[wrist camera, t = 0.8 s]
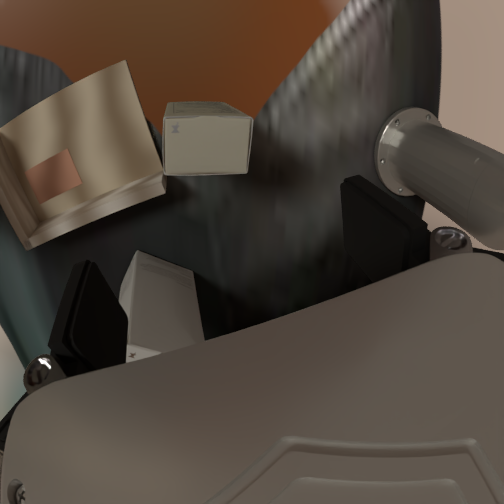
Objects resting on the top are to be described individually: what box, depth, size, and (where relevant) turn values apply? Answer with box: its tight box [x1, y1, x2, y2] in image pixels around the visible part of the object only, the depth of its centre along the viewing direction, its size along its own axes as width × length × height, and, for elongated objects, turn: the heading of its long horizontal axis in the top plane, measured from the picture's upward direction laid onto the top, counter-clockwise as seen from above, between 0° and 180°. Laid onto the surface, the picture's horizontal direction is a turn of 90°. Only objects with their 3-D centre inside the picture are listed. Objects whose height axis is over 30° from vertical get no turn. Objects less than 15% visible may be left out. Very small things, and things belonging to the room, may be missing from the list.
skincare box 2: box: [163, 102, 253, 176], centre depth 25 cm, size 6×4×12 cm
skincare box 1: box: [119, 250, 205, 363], centre depth 33 cm, size 8×7×16 cm
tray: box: [0, 60, 167, 251], centre depth 27 cm, size 18×14×4 cm
